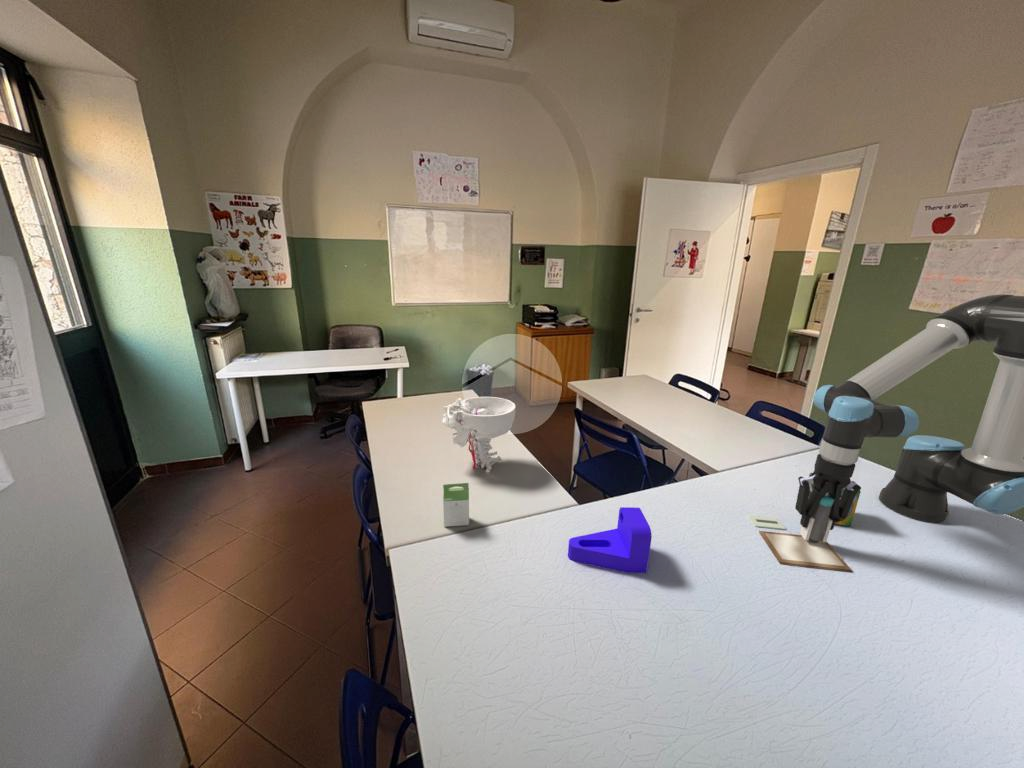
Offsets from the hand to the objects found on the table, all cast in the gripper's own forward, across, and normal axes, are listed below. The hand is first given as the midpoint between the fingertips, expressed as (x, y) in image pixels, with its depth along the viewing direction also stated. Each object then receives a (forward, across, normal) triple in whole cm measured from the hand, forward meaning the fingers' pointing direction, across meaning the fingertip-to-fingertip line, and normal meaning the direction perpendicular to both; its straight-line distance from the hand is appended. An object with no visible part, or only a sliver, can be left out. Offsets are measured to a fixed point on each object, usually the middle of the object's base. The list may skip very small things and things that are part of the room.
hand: (812, 537), depth 106 cm
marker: (+1, 0, 0) cm, 1 cm away
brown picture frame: (+2, +4, +4) cm, 6 cm away
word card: (+2, +8, -8) cm, 11 cm away
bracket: (+3, +55, +14) cm, 57 cm away
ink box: (+3, +95, +8) cm, 95 cm away
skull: (+3, +96, -24) cm, 99 cm away
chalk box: (+2, -11, -14) cm, 18 cm away
